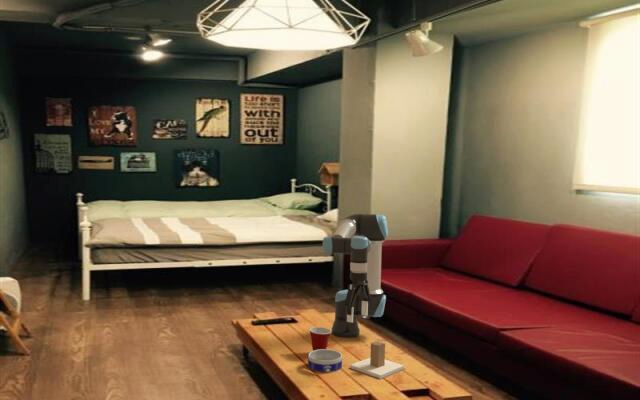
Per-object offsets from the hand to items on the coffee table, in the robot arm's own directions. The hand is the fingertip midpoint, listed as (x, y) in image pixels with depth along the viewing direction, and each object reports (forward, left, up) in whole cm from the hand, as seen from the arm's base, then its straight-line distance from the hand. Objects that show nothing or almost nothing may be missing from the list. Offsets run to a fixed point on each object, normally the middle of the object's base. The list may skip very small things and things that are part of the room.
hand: (357, 318), depth 258 cm
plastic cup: (-1, -24, -23) cm, 33 cm away
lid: (-5, +8, -22) cm, 24 cm away
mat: (-5, +8, -23) cm, 25 cm away
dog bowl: (+10, -10, -23) cm, 27 cm away
